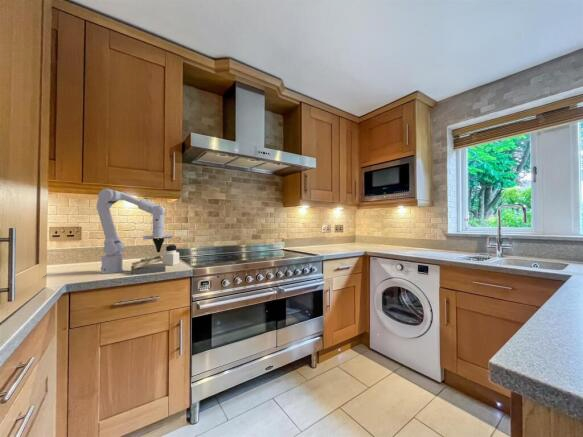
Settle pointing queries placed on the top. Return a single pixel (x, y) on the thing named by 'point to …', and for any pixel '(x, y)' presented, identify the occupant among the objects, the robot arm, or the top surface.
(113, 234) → the robot arm
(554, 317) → the top surface
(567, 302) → the top surface
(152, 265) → the instrument base
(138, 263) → the leveling plate
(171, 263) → the medicine bottle
